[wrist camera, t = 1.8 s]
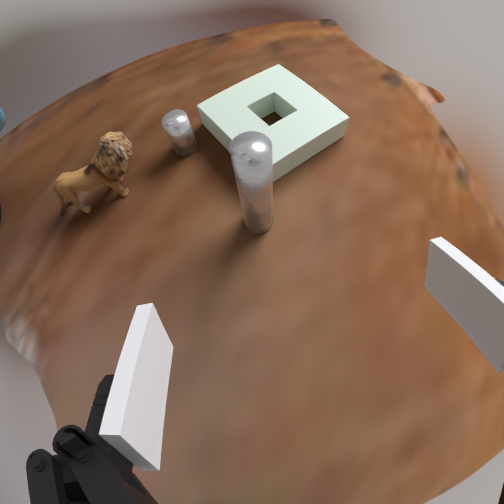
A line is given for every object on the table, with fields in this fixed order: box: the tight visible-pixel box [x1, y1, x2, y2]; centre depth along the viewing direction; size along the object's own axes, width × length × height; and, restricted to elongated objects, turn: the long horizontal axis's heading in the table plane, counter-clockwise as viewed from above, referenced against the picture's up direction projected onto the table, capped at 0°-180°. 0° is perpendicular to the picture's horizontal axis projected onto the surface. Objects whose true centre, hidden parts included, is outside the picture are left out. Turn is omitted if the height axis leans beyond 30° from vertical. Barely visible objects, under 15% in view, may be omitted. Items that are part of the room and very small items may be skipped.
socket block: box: [197, 64, 349, 182], centre depth 37 cm, size 14×14×4 cm
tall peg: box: [229, 131, 273, 234], centre depth 28 cm, size 3×3×14 cm
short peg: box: [162, 110, 197, 156], centre depth 36 cm, size 3×3×6 cm
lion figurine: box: [54, 132, 132, 216], centre depth 33 cm, size 15×5×9 cm, turn 116°
